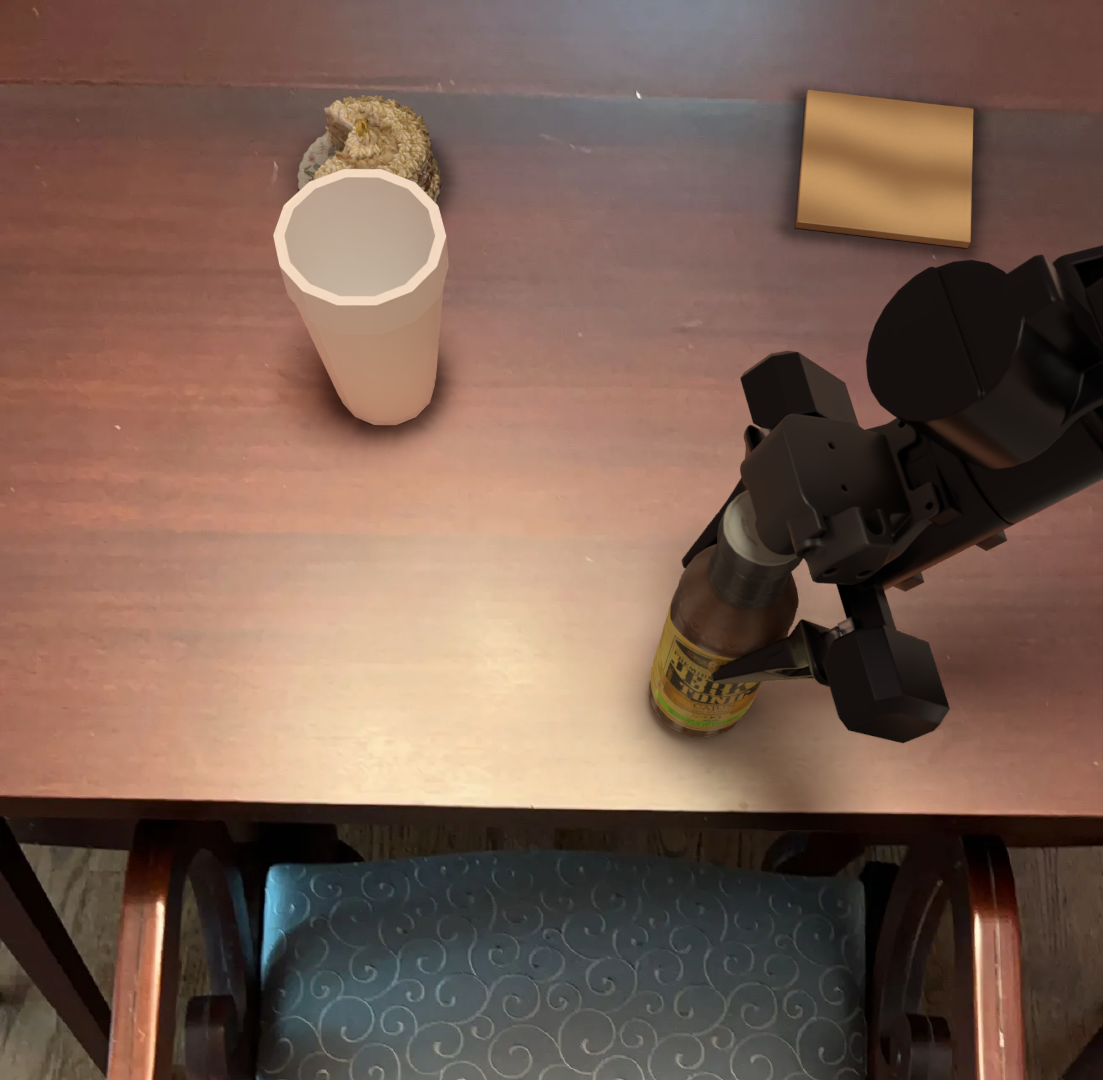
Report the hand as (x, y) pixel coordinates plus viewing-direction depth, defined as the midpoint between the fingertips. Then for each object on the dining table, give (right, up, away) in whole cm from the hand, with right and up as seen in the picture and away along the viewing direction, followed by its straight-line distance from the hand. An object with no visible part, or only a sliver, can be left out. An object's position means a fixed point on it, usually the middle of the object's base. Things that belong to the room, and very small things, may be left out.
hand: (700, 621), depth 60 cm
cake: (-20, +34, +22) cm, 45 cm away
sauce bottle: (+1, -3, +10) cm, 11 cm away
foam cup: (-19, +18, +17) cm, 31 cm away
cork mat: (+16, +35, +23) cm, 45 cm away
